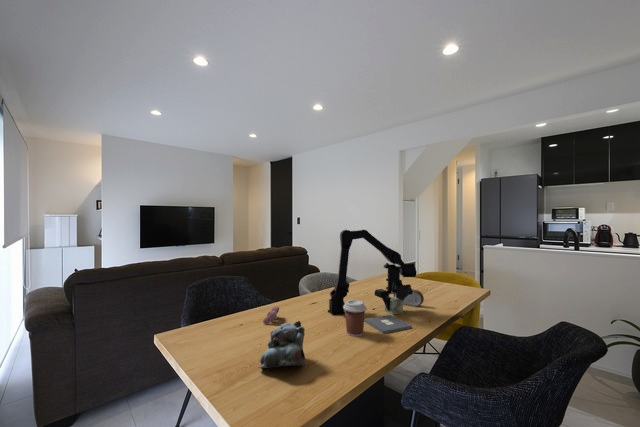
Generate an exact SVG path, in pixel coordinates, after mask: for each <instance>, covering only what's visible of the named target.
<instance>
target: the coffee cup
mask: <svg viewBox="0 0 640 427" xmlns="http://www.w3.org/2000/svg"><path fill="white" fill-rule="evenodd" d="M343 309H344V310H345V311H344V312H345V316H344V317H345V325H346V326H345V327H346V335H348V336H351V337H361V336H363V335H364V325H365V322H364V319H365V314H366V311H367V306H366V305H365V303H364V302H363V301H362V300H359V299H349V300H347V301H345V305H344V306H343Z"/></svg>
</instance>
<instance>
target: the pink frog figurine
mask: <svg viewBox="0 0 640 427" xmlns="http://www.w3.org/2000/svg"><path fill="white" fill-rule="evenodd" d="M279 311H280V307H279V306H273V307H272V308H271V309H270V311H268V312H267V314H266V317H265V318H264V319H263V321H262V323H263V324H264V325H269V324H270V323H273V322H274V320H275V319H277V318H278V315H277V314H278V312H279Z"/></svg>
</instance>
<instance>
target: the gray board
mask: <svg viewBox="0 0 640 427" xmlns="http://www.w3.org/2000/svg"><path fill="white" fill-rule="evenodd" d="M364 323H366V324H368V325H369V326H371V327H372V328H374V329H375V330H377V331H379V332H380V333H382V334H389V333H394V332H400V331H405V330H409V329H412V327H413V326H412V324H410V323H407V322H405V321H404V320H401V319H399V318H397V317H395V315H392V314H387V315H381V316H376V317H368V318H364Z"/></svg>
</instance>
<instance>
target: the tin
mask: <svg viewBox="0 0 640 427" xmlns="http://www.w3.org/2000/svg"><path fill="white" fill-rule="evenodd" d="M411 289H412V290H413V294H410V295H408V296H407V297H405V298H404V300H403V306H409V307H414V308H417V307H420V306H421V305H422V304H423V303H424V300H425V299H424V295H423V293H422V292H421V291H419V290H418V289H413V288H411ZM393 297H396V294H393ZM396 298H397V297H396Z"/></svg>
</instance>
